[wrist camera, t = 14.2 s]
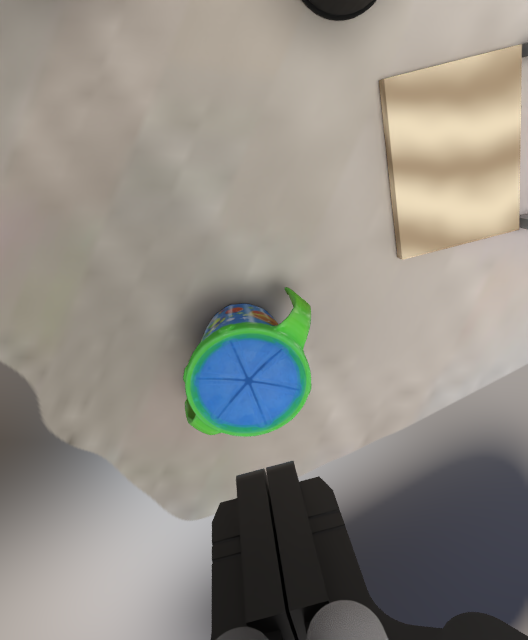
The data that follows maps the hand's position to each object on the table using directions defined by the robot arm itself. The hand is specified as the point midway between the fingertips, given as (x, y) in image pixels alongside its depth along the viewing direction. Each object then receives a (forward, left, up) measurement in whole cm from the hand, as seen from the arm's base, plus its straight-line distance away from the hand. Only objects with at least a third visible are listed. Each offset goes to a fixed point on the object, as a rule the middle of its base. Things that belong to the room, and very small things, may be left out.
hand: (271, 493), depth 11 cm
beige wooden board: (-2, +22, -32) cm, 39 cm away
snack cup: (+10, -1, -32) cm, 34 cm away
